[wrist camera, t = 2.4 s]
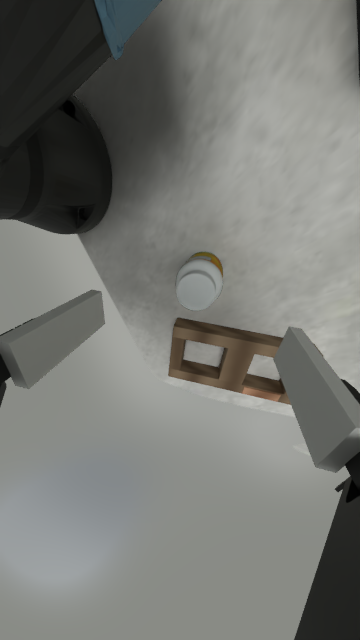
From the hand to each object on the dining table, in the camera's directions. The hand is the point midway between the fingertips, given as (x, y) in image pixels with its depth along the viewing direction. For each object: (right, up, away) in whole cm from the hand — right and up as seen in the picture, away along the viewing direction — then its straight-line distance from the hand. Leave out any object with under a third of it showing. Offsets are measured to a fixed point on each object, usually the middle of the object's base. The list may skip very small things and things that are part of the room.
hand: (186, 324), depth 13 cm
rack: (+9, -6, +19) cm, 22 cm away
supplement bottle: (+3, +8, +14) cm, 16 cm away
